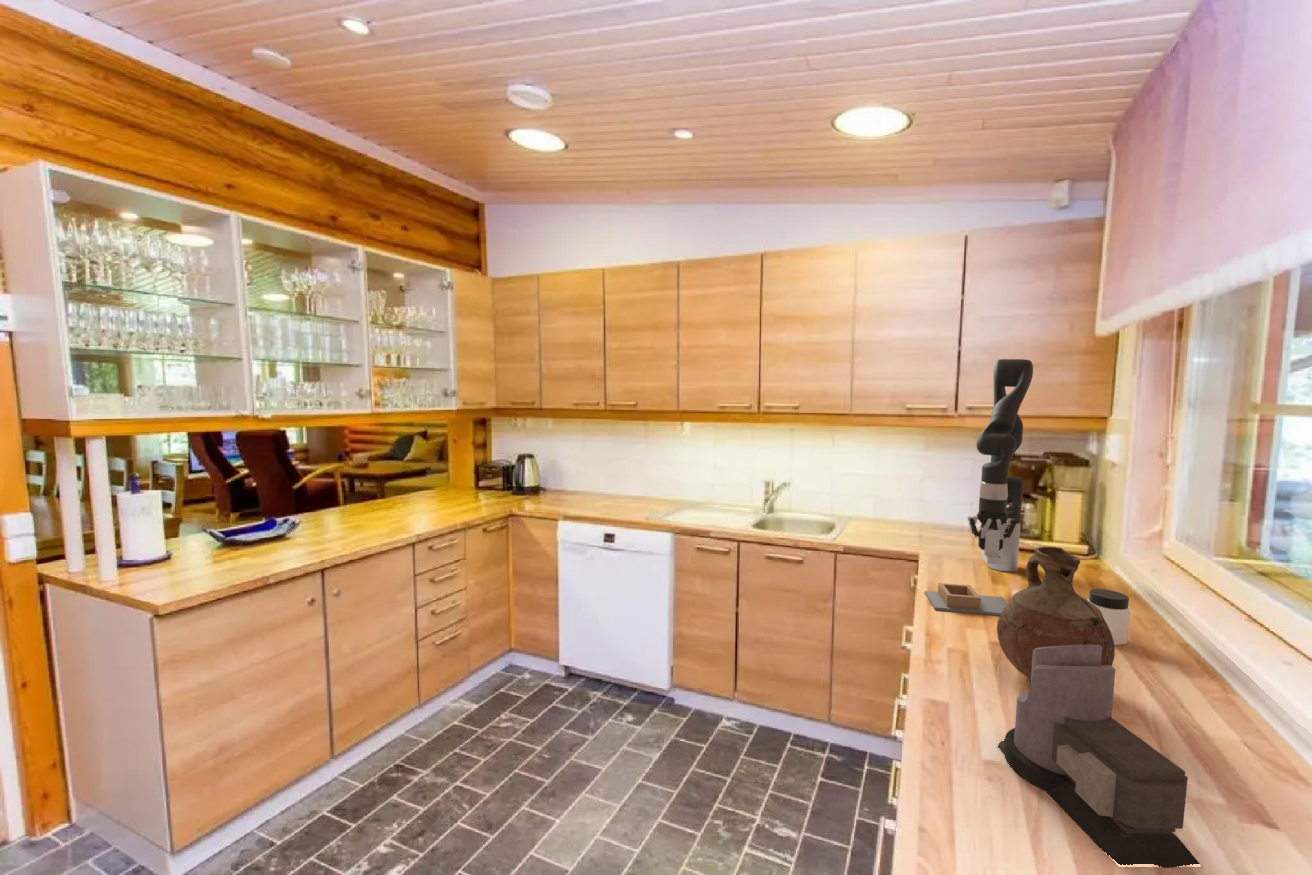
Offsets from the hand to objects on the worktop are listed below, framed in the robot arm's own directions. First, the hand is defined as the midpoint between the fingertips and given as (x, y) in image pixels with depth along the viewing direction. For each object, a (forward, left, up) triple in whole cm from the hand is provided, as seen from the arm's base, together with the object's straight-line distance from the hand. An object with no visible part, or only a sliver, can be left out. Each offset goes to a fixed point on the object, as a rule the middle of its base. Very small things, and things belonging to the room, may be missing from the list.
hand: (990, 549), depth 184 cm
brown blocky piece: (+97, -15, -14) cm, 99 cm away
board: (+13, -9, -14) cm, 21 cm away
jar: (+30, +19, -14) cm, 38 cm away
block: (+1, 0, -3) cm, 4 cm away
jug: (+59, -5, -14) cm, 61 cm away
